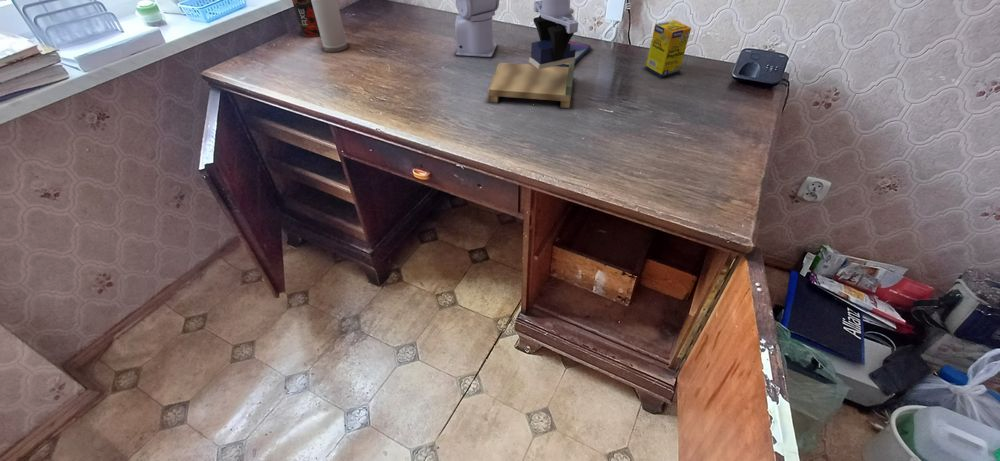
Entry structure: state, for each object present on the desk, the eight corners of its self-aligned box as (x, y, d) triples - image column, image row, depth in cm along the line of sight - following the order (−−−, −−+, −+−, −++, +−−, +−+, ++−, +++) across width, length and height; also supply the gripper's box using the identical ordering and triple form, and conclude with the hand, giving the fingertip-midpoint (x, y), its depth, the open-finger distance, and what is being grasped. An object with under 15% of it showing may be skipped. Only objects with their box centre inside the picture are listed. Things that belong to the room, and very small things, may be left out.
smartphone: (591, 49, 125) (591, 45, 124) (569, 69, 115) (569, 65, 115) (565, 44, 128) (566, 40, 127) (542, 63, 118) (542, 59, 117)
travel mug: (318, 50, 125) (295, -33, 111) (333, 41, 129) (313, -40, 116) (337, 54, 123) (317, -30, 109) (352, 45, 128) (334, -37, 114)
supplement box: (661, 78, 112) (672, 32, 105) (644, 68, 116) (654, 23, 108) (679, 73, 114) (692, 27, 107) (663, 63, 118) (673, 19, 110)
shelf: (488, 101, 104) (488, 80, 101) (499, 74, 114) (498, 54, 111) (569, 108, 102) (571, 86, 99) (572, 79, 112) (575, 59, 109)
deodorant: (301, 37, 132) (284, -21, 121) (302, 30, 136) (286, -27, 125) (322, 35, 133) (307, -22, 122) (323, 28, 137) (308, -29, 126)
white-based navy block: (538, 69, 100) (539, 50, 97) (528, 61, 103) (529, 42, 100) (575, 61, 103) (577, 42, 100) (564, 54, 106) (566, 35, 103)
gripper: (594, -5, 89) (585, 64, 98) (555, -24, 98) (551, 40, 108) (562, 1, 87) (557, 71, 96) (526, -20, 96) (524, 46, 106)
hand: (552, 55), depth 102 cm, fingers closed on white-based navy block, 4 cm apart
